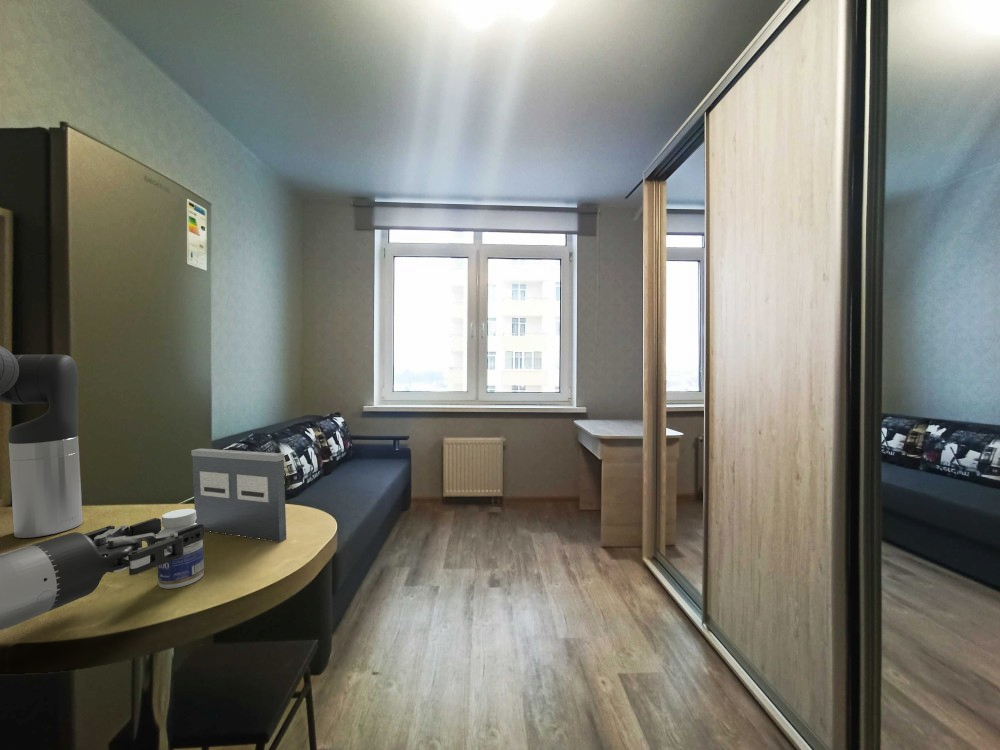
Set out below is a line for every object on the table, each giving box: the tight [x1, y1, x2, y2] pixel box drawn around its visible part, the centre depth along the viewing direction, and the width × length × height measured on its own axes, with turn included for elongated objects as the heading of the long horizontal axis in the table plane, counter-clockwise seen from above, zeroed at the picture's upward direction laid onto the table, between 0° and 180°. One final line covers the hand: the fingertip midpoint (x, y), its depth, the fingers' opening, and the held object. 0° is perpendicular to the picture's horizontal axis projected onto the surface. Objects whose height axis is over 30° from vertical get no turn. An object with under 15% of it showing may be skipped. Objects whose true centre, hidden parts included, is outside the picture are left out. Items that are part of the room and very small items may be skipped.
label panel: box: [190, 448, 287, 543], centre depth 81 cm, size 20×2×15 cm, turn 71°
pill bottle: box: [156, 508, 205, 590], centre depth 64 cm, size 5×5×10 cm
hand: (180, 527), depth 64 cm, fingers open, 8 cm apart
